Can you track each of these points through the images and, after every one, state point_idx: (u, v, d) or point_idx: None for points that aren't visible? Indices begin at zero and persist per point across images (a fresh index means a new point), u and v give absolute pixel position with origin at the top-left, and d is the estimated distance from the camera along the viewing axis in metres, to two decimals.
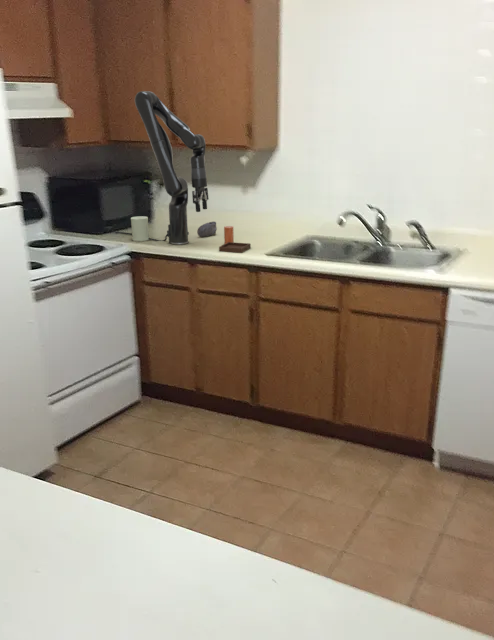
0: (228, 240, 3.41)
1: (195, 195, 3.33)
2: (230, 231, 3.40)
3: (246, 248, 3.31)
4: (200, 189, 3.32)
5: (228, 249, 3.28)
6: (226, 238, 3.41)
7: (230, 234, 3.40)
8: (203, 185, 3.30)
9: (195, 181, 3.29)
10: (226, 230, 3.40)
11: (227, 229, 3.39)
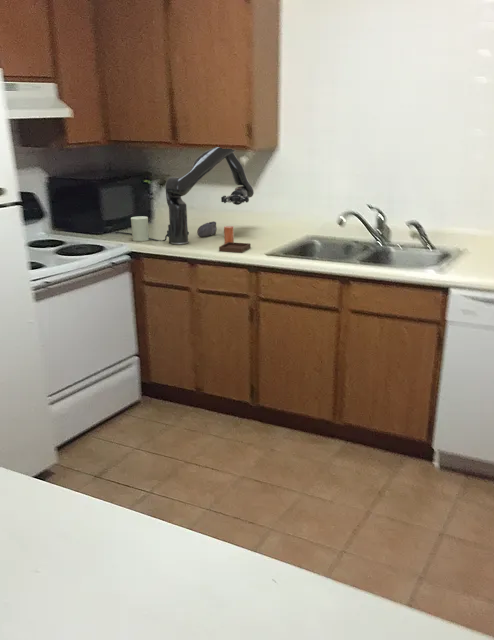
0: (228, 240, 3.41)
1: (240, 196, 3.52)
2: (230, 231, 3.40)
3: (246, 248, 3.31)
4: None
5: (228, 249, 3.28)
6: (226, 238, 3.41)
7: (230, 234, 3.40)
8: None
9: (244, 196, 3.59)
10: (226, 230, 3.40)
11: (227, 229, 3.39)
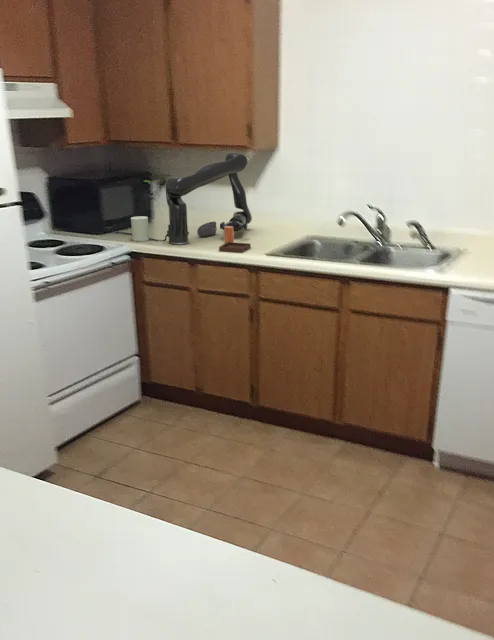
0: (228, 240, 3.41)
1: None
2: (230, 231, 3.40)
3: (246, 248, 3.31)
4: None
5: (228, 249, 3.28)
6: (226, 238, 3.41)
7: (230, 234, 3.40)
8: (239, 229, 3.60)
9: (243, 222, 3.61)
10: (226, 230, 3.40)
11: (227, 229, 3.39)
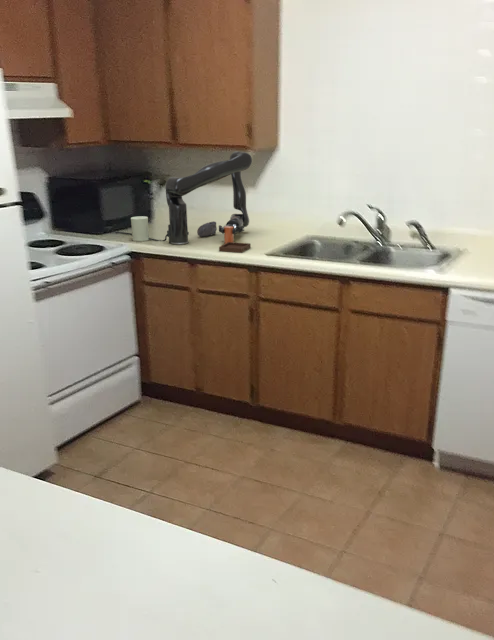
0: (228, 240, 3.41)
1: (235, 226, 3.46)
2: (230, 231, 3.40)
3: (246, 248, 3.31)
4: None
5: (228, 249, 3.28)
6: (226, 238, 3.41)
7: (230, 234, 3.40)
8: (236, 232, 3.52)
9: (240, 225, 3.52)
10: (226, 230, 3.40)
11: (227, 229, 3.39)
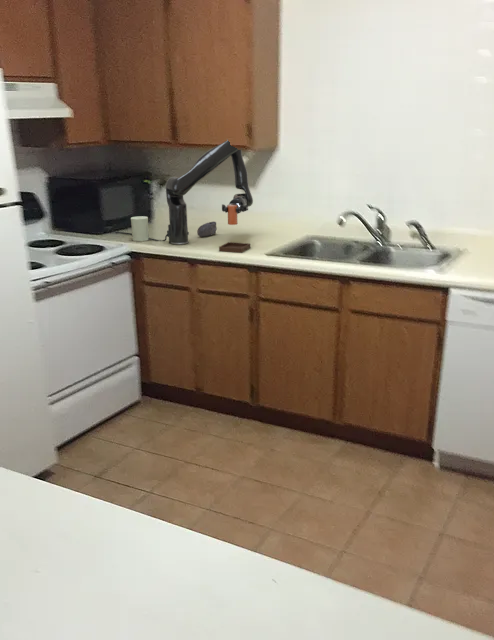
0: (232, 219, 3.30)
1: (239, 205, 3.34)
2: (234, 210, 3.28)
3: (246, 248, 3.31)
4: None
5: (228, 249, 3.28)
6: (230, 217, 3.29)
7: (234, 213, 3.28)
8: None
9: (244, 204, 3.41)
10: (230, 209, 3.28)
11: (231, 208, 3.27)
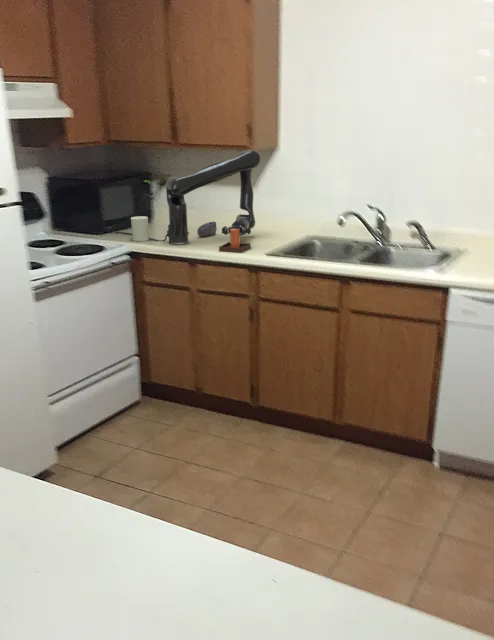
0: (234, 243, 3.30)
1: (242, 227, 3.34)
2: (236, 234, 3.28)
3: (246, 248, 3.31)
4: None
5: (228, 249, 3.28)
6: (232, 241, 3.30)
7: (237, 237, 3.29)
8: None
9: (246, 226, 3.40)
10: (232, 233, 3.28)
11: (233, 232, 3.28)
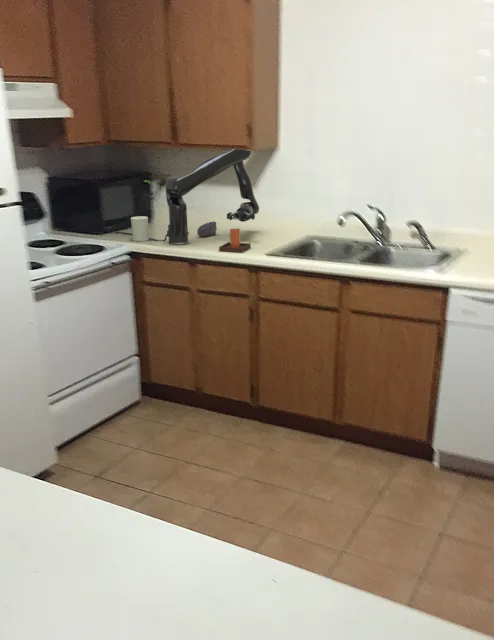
0: (234, 243, 3.30)
1: (246, 213, 3.46)
2: (236, 234, 3.28)
3: (246, 248, 3.31)
4: None
5: (228, 249, 3.28)
6: (232, 241, 3.30)
7: (237, 237, 3.29)
8: None
9: (250, 213, 3.52)
10: (232, 233, 3.28)
11: (233, 232, 3.28)
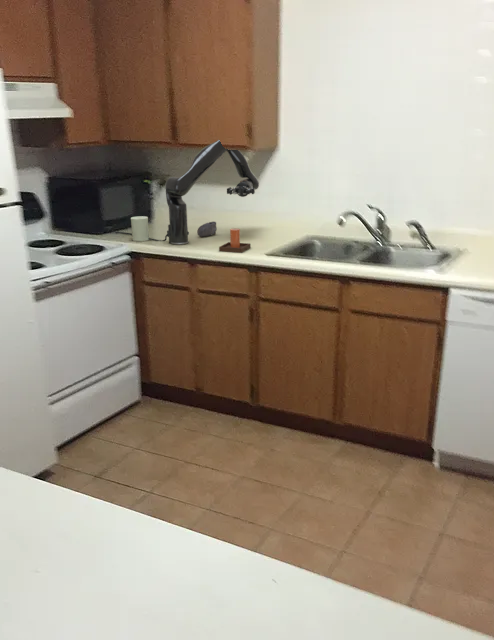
0: (234, 243, 3.30)
1: None
2: (236, 234, 3.28)
3: (246, 248, 3.31)
4: None
5: (228, 249, 3.28)
6: (232, 241, 3.30)
7: (237, 237, 3.29)
8: (246, 195, 3.53)
9: (250, 188, 3.53)
10: (232, 233, 3.28)
11: (233, 232, 3.28)
